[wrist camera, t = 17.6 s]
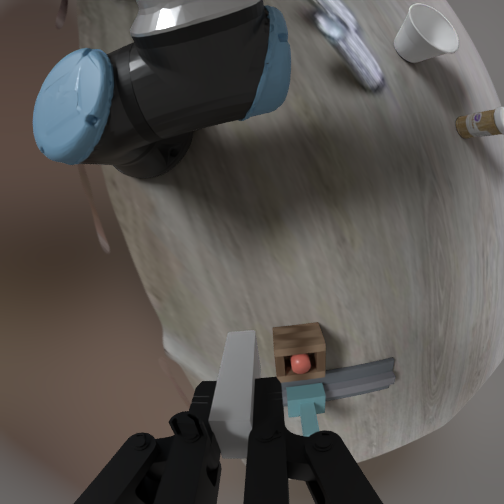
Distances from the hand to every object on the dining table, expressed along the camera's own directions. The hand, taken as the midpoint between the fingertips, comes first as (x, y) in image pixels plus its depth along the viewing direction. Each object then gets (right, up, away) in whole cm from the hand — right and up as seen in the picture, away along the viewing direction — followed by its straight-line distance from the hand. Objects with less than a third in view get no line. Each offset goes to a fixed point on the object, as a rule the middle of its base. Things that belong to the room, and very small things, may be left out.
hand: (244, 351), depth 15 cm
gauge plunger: (+8, -11, +30) cm, 33 cm away
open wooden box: (+8, -10, +33) cm, 35 cm away
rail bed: (+18, -21, +35) cm, 45 cm away
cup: (+29, +43, +19) cm, 55 cm away
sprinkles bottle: (+41, +29, +22) cm, 54 cm away
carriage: (+11, -22, +34) cm, 42 cm away
